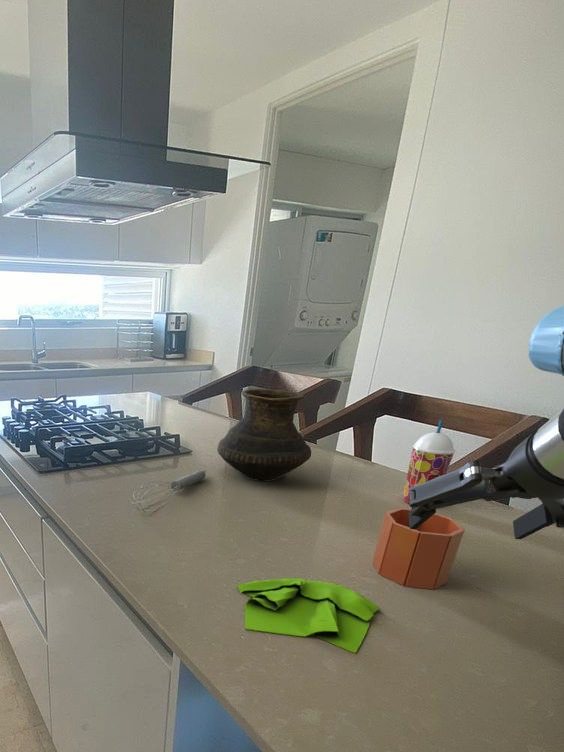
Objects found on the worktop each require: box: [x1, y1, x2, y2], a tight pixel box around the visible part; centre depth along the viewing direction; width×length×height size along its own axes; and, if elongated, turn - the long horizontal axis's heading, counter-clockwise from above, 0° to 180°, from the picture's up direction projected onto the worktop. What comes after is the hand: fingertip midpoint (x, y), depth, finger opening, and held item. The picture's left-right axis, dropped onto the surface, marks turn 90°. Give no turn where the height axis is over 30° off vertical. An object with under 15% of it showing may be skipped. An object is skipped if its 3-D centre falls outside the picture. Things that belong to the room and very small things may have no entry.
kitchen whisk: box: [132, 469, 207, 513], centre depth 119 cm, size 6×34×6 cm, turn 145°
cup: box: [372, 507, 465, 590], centre depth 85 cm, size 10×11×11 cm
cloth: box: [236, 577, 380, 654], centre depth 75 cm, size 20×22×2 cm
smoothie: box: [402, 419, 456, 505], centre depth 114 cm, size 8×8×20 cm
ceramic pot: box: [216, 388, 312, 482], centre depth 130 cm, size 24×24×22 cm
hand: (463, 525), depth 70 cm, fingers open, 13 cm apart
